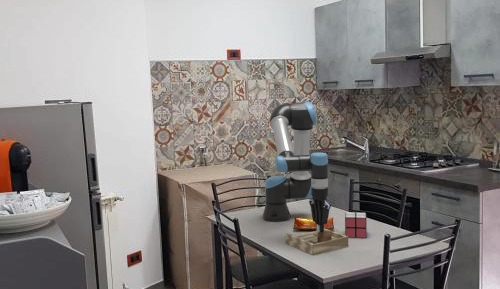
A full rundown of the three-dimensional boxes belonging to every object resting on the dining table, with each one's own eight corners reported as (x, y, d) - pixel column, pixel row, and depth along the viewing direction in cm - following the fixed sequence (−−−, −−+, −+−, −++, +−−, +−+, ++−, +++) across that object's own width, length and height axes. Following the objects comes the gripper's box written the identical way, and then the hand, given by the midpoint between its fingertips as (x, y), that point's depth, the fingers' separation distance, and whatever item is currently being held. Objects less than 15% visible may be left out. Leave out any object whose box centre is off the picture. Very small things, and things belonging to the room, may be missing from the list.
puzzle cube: (366, 238, 240) (366, 217, 239) (345, 237, 242) (345, 217, 241) (366, 232, 250) (366, 212, 249) (345, 231, 252) (345, 212, 251)
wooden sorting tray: (285, 243, 236) (285, 233, 236) (318, 235, 247) (318, 226, 246) (313, 255, 218) (313, 245, 218) (348, 246, 229) (348, 236, 228)
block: (317, 242, 228) (317, 232, 228) (325, 240, 230) (325, 230, 230) (323, 244, 224) (323, 234, 224) (331, 242, 227) (331, 233, 226)
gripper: (304, 186, 231) (304, 236, 233) (322, 190, 220) (323, 243, 222) (316, 184, 234) (317, 233, 237) (335, 188, 223) (335, 240, 226)
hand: (320, 238), depth 230 cm, fingers closed
